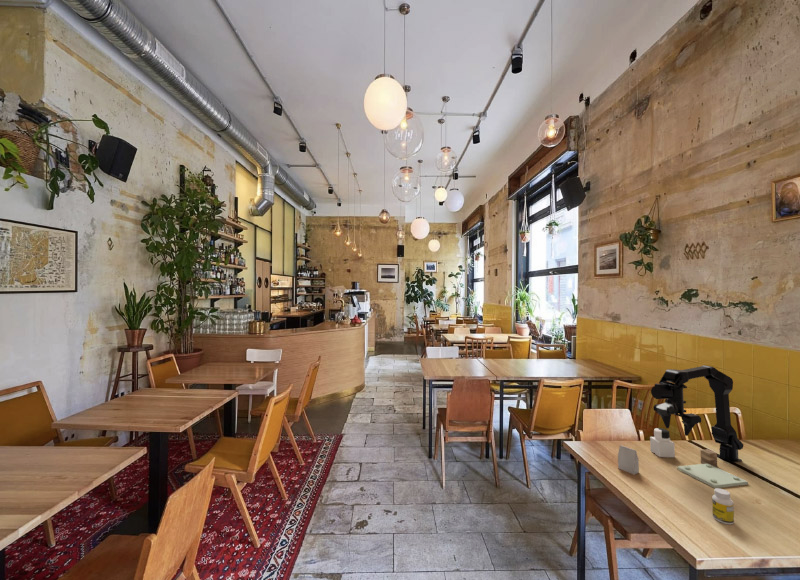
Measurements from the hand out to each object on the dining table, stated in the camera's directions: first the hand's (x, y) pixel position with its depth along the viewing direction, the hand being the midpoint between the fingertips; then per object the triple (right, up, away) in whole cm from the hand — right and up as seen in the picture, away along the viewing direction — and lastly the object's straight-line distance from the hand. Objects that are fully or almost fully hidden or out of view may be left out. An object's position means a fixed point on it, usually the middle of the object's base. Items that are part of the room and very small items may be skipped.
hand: (676, 431), depth 160 cm
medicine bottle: (+1, -15, +10) cm, 18 cm away
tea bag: (-26, -15, -6) cm, 31 cm away
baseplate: (+5, -14, -12) cm, 19 cm away
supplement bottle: (-16, -14, -41) cm, 46 cm away
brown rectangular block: (+14, -15, -1) cm, 20 cm away
